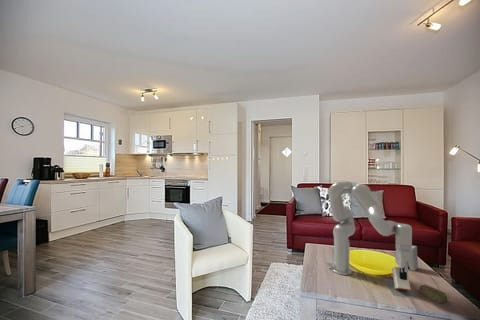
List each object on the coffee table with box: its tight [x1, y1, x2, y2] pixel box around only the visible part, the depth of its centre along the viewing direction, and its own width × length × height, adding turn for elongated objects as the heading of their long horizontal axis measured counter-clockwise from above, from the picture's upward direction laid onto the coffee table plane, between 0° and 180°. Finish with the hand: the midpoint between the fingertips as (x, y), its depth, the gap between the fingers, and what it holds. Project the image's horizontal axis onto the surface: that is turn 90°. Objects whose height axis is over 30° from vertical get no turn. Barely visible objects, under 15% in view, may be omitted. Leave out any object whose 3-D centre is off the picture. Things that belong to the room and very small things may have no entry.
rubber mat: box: [382, 278, 419, 300], centre depth 136 cm, size 12×20×1 cm, turn 163°
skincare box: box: [409, 245, 419, 272], centre depth 164 cm, size 8×7×16 cm
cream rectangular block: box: [391, 266, 412, 291], centre depth 135 cm, size 6×6×11 cm
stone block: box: [418, 284, 448, 304], centre depth 127 cm, size 6×12×5 cm, turn 25°
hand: (403, 278), depth 131 cm, fingers closed
